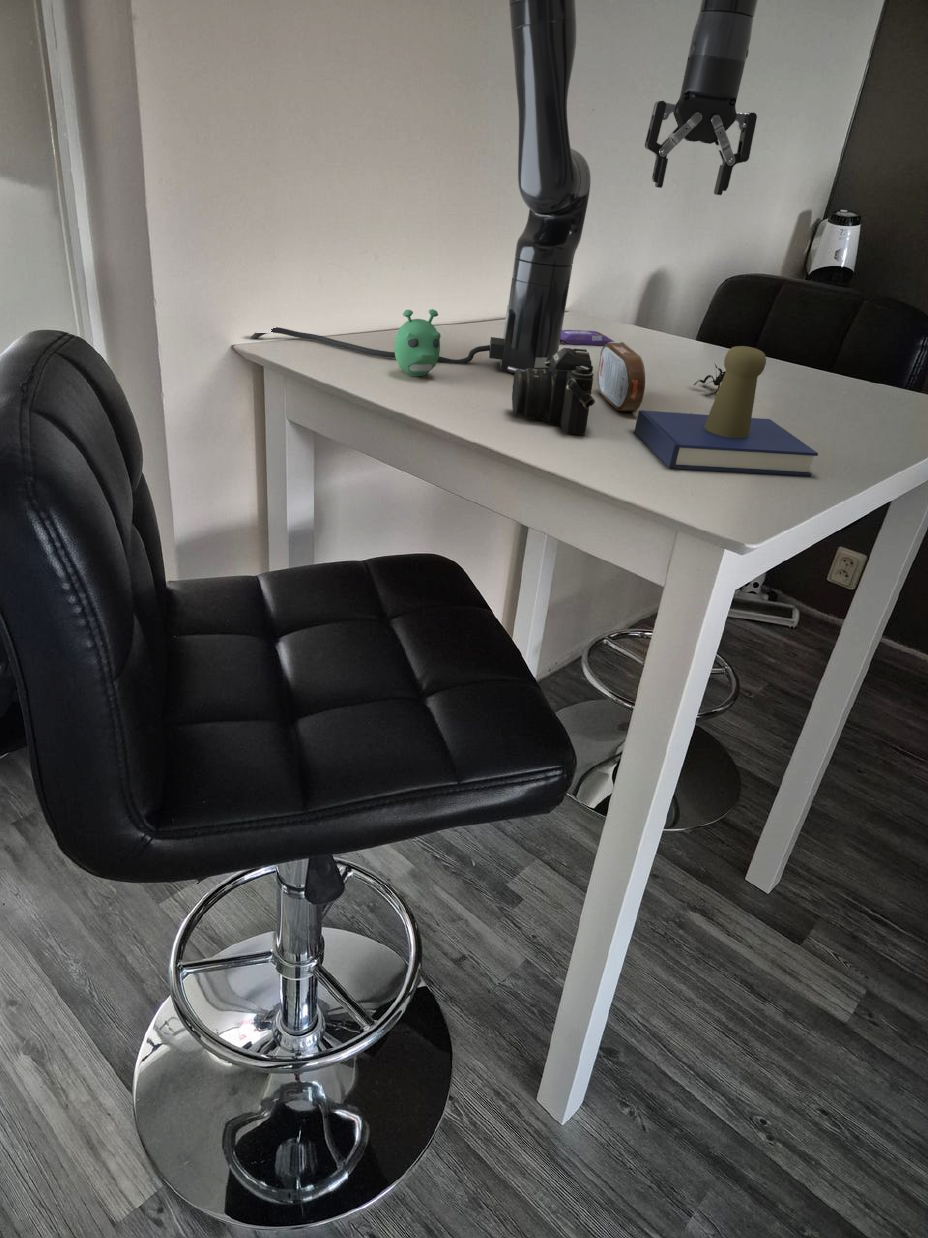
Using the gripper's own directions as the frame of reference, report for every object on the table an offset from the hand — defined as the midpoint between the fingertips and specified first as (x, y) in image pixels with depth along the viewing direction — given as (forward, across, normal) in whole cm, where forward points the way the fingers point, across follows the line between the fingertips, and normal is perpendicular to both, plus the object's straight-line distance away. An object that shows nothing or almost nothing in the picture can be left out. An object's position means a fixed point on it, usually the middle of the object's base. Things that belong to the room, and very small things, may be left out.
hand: (687, 190), depth 125 cm
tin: (+30, +5, +4) cm, 31 cm away
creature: (+30, -14, -10) cm, 35 cm away
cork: (+27, -7, +23) cm, 36 cm away
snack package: (+30, +6, -37) cm, 48 cm away
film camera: (+30, +16, +16) cm, 38 cm away
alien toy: (+30, +36, +2) cm, 47 cm away
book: (+30, -7, +23) cm, 39 cm away
